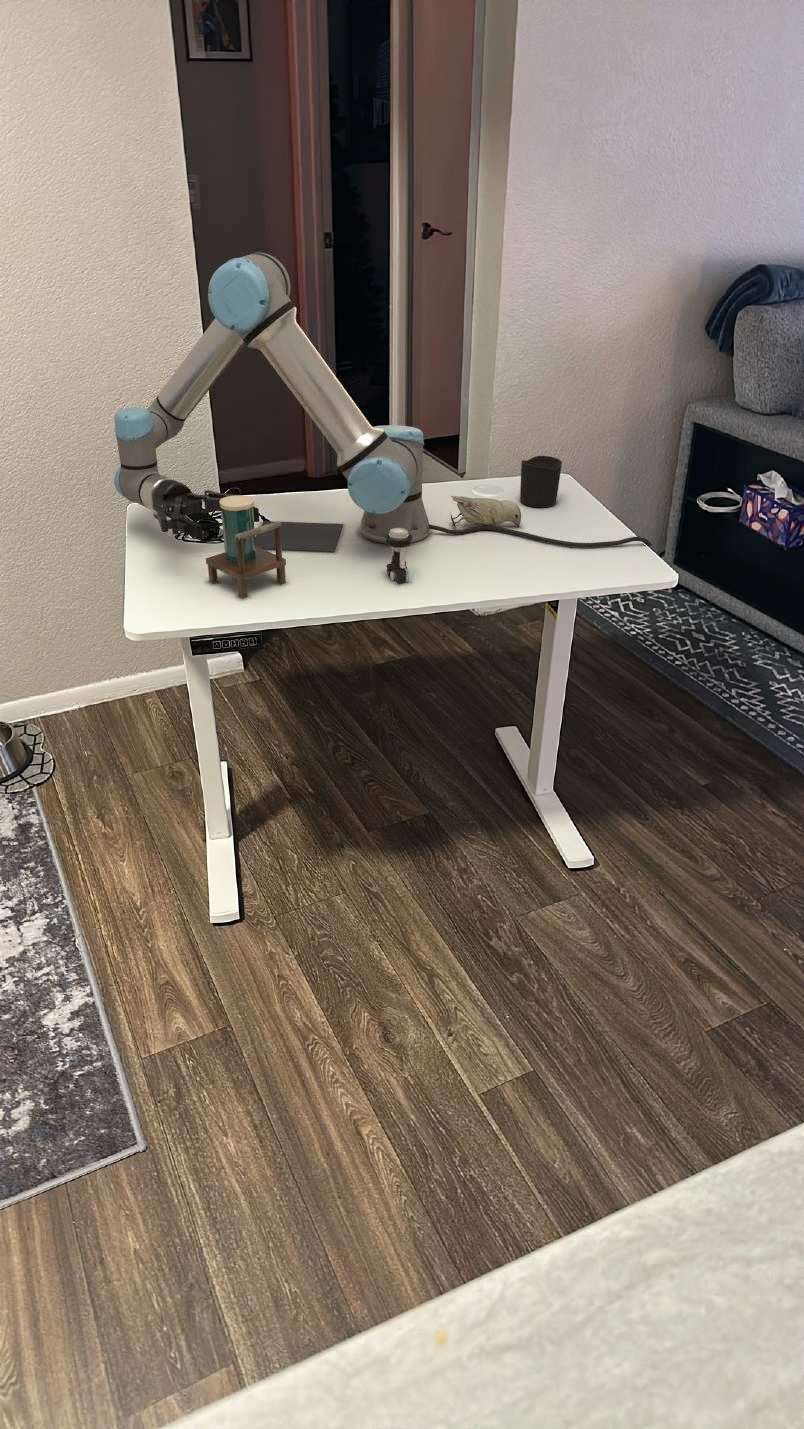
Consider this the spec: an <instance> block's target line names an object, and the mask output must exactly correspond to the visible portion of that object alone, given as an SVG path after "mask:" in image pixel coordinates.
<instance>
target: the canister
mask: <svg viewBox="0 0 804 1429" xmlns="http://www.w3.org/2000/svg"><path fill="white" fill-rule="evenodd" d="M234 495H235V496H228V497H224V498H222V499H221V500H220V501H219V504H220V507H221V511H220V514H221V523H222V524H221V525H222V534H223V546H224V547H223V548H224V552H225V558H226V559H227V560H228V561H231V562H238V558H237V546H236V538H235V535H236V534H238V533H242V532H245V531H248V530H251V529H255V528H256V527H255V522H254V514H253V506H254V505H255V503H254V502H255V501H254V498H253V497H251V496H248V495H241V494H234ZM254 507H255V506H254ZM255 536H256V535H254V536H251V537H248V538H245V539H243V551H244V562H248V561H251V560H253V559H255V558H256V542H255Z"/></svg>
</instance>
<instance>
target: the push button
mask: <svg viewBox="0 0 804 1429" xmlns="http://www.w3.org/2000/svg"><path fill="white" fill-rule="evenodd" d="M412 537H413V536H412V534H410V533H408V530H407V529H404V528H393V529H391V530H390V532H389V533H387V534H386V535H385V539H386V543H385V544H386V545H387V546H388V547H390V548H391V559H390V560H391V561H390V563H387V564H386V565H385V567H386V569H385V571H386V572H387V574H388V577H389V578H390V580H392V581H395V582H396V583H397V584H398V585H401V584H404V583H408V582H409V569H408V567H407V561H406V549H407V548H408V547H410V546H411V544H412V543H411V540H412Z"/></svg>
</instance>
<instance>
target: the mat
mask: <svg viewBox="0 0 804 1429" xmlns="http://www.w3.org/2000/svg"><path fill="white" fill-rule="evenodd" d="M274 522H275V521H271V520H270V521H268V520H263V521H262V523H261V525H260V527H261V526H264V525H267V524H271V523H274ZM279 522H280V523H281V544H282V552H284V551H285V552H288V551H289V552H312V553H313V552H314V553H335V551H336V547H337V544H338V541H339V538H340V535H341V532H342V529H343V525H344V524H343V523H330V522H329V523H327V522H303V521H302V522H300V521H279ZM255 542H256V546H257V547H259V548H261V549H264V550H266V551H276V549H275V532H274V529H273V530H270V531H267V532H264V533H261V534H257V535H255Z"/></svg>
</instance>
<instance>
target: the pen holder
mask: <svg viewBox="0 0 804 1429" xmlns="http://www.w3.org/2000/svg"><path fill="white" fill-rule="evenodd" d="M520 463H521V464H520V466H521V467H520V468H521V469H520V487H519V488H520V489H519V492H520V493H519V500H520V502H521V504H522V505H524V506H526V507H530V508H534V509H546V508H551V507H554V506H555V505H556V503H557V499H558V493H559V485H560V479H561V473H562V472H561V471H562V466H563V465H562V464H563V462H562V460H560V459H559V458H557V457H554V456H548V455H536V456H533V457H531V458H529V459H527V460H525V459H522V460H521V462H520Z"/></svg>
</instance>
